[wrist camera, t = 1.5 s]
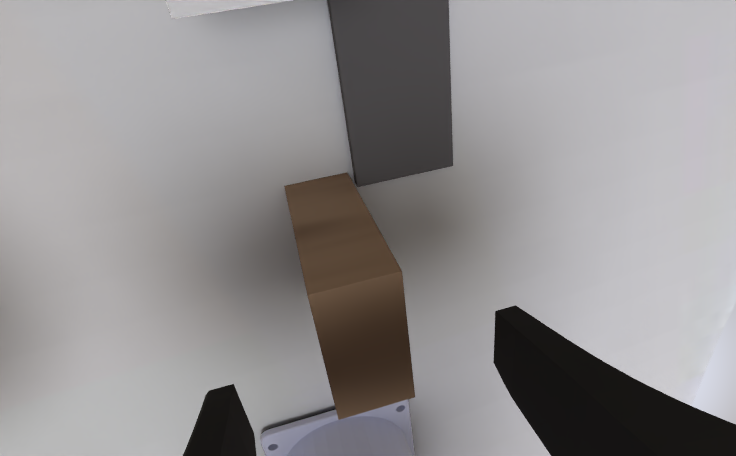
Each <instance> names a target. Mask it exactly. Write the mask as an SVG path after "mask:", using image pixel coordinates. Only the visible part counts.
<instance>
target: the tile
mask: <svg viewBox="0 0 736 456" xmlns="http://www.w3.org/2000/svg"><path fill="white" fill-rule="evenodd" d="M286 1H292V0H166V3H167V6H168V10H169V13H170V16H171V19H177V18H183V17H190V16H196V15H203V14H209V13H215V12H222V11H228V10H235V9H241V8H247V7H254V6H260V5H267V4H273V3H279V2H286Z"/></svg>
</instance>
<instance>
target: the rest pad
mask: <svg viewBox="0 0 736 456" xmlns="http://www.w3.org/2000/svg"><path fill="white" fill-rule="evenodd" d="M328 7H329V13H330V20H331V26H332V33H333V39H334V46H335V53H336V59H337V66H338V72H339V79H340V85H341V92H342V99H343V105H344V112H345V118H346V125H347V131H348V138H349V145H350V151H351V158H352V164H353V171H354V177H355V183H356V185H357V187H360V186H364V185H369V184H373V183H378V182H382V181H387V180H391V179H396V178H400V177H405V176H409V175H414V174H418V173H423V172H427V171H432V170H436V169H441V168H445V167H450V166H453V149H452V112H451V75H450V38H449V1H448V0H328Z"/></svg>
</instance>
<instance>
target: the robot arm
mask: <svg viewBox="0 0 736 456" xmlns="http://www.w3.org/2000/svg"><path fill="white" fill-rule="evenodd" d="M494 364H495V366H496V368H497V370H498V372H499V374H500V376H501V378H502V380H503V382H504V384H505V386H506V388H507V389H508V391H509V393H510V395H511V397H512V398H513V400H514V401H515V403H516V404H517V406H518V407H519V409H520V410H521V412H522V413H523V415H524V416H525V418H526V419H527V421H528V422H529V424H530V425H531V427H532V428H533V430H534V431H535V433H536V434H537V436H538V437H539V438H540V440H541V441H542V443H543V444H544V446H545V447H546V449H547V450H548V452H549V453H550V455H551V456H736V424H733V423H730V422H727V421H725V420H723V419H720V418H718V417H716V416H713V415H711V414H708V413H706V412H704V411H701V410H699V409H697V408H694V407H692V406H690V405H687V404H685V403H683V402H681V401H679V400H676V399H674V398H672V397H670V396H668V395H666V394H664V393H662V392H660V391H658V390H656V389H654V388H652V387H649V386H647V385H645V384H643V383H642V382H640V381H638V380H636V379H634V378H632V377H630V376H628V375H626V374H625V373H623V372H621V371H619V370H618V369H616V368H614V367H612V366H610V365H609V364H607V363H605V362H603V361H602V360H600V359H598V358H597V357H595V356H593V355H592V354H590V353H588V352H587V351H585V350H583V349H582V348H580V347H579V346H577V345H575V344H574V343H572V342H571V341H569V340H567V339H566V338H564V337H563V336H561V335H560V334H558V333H557V332H555V331H554V330H552V329H550V328H549V327H547V326H546V325H544V324H543V323H541V322H540V321H538V320H537V319H535V318H534V317H532V316H531V315H529V314H528V313H526V312H525V311H523V310H522V309H520V308H519V307H517V306H512V307H509V308H505V309H502V310H498V311H496V312H495V341H494ZM261 445H262V447H263V450H264V452H265V454H266V456H415V452H414V444H413V435H412V426H411V418H410V409H409V401H408V399H407V400H404V401H400V402H397V403H394V404H390V405H387V406H384V407H380V408H377V409H374V410H370V411H367V412H364V413H360V414H357V415H354V416H350V417H347V418H344V419H340V420H339V419H338V415H337V411H336V410H332V411H329V412H326V413H322V414H319V415H316V416H312V417H309V418H305V419H302V420H299V421H295V422H292V423H289V424H285V425H282V426H278V427H275V428H272V429H268V430H266V431H264V432H263V433H262V434H261ZM183 456H256V448H255V438H254V432H253V430H252V427H251V425H250V423H249V420H248V418H247V415H246V413H245V411H244V408H243V406H242V403H241V401H240V399H239V396H238V394H237V391H236V389H235V387H234V384H232V385H228V386H225V387H221V388H217V389H214V390H210V391H209V392H208V393H207V394H206V396H205V399H204V402H203V405H202V408H201V411H200V413H199V416H198V419H197V422H196V424H195V427H194V430H193V432H192V435H191V437H190V440H189V442H188V445H187V447H186V449H185V452H184V454H183Z"/></svg>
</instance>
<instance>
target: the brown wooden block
mask: <svg viewBox="0 0 736 456" xmlns="http://www.w3.org/2000/svg"><path fill="white" fill-rule="evenodd" d="M284 187H285V191H286V196H287V201H288V206H289V210H290V215H291V220H292V224H293V229H294V234H295V238H296V243H297V248H298V253H299V257H300V262H301V267H302V271H303V276H304V281H305V286H306V290H307V295H308V299H309V303H310V307H311V311H312V315H313V319H314V323H315V327H316V331H317V335H318V339H319V343H320V347H321V351H322V355H323V359H324V363H325V367H326V371H327V375H328V379H329V383H330V387H331V391H332V395H333V399H334V403H335V407H336V411H337V415H338V419H339V420H340V419H344V418H347V417H350V416H354V415H357V414H360V413H364V412H367V411H370V410H374V409H377V408H380V407H384V406H387V405H390V404H394V403H397V402H400V401H404V400H407V399H410V398H414V397H415V392H414V382H413V373H412V363H411V354H410V344H409V335H408V325H407V316H406V306H405V297H404V287H403V278H402V271H401V269H400V267H399V265H398V263H397V262H396V260H395V258H394V256H393V254H392V252H391V251H390V249H389V247H388V245H387V243H386V242H385V240H384V238H383V236H382V234H381V233H380V231H379V229H378V227H377V225H376V224H375V222H374V220H373V218H372V216H371V215H370V213H369V211H368V209H367V207H366V205H365V204H364V202H363V200H362V198H361V196H360V195H359V193H358V191H357V189H356V187H355V186H354V184H353V182H352V180H351V178H350V177H349V175H348V173H342V174H338V175H333V176H328V177H324V178H319V179H314V180H310V181H305V182H301V183H296V184H291V185H287V186H284Z"/></svg>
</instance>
